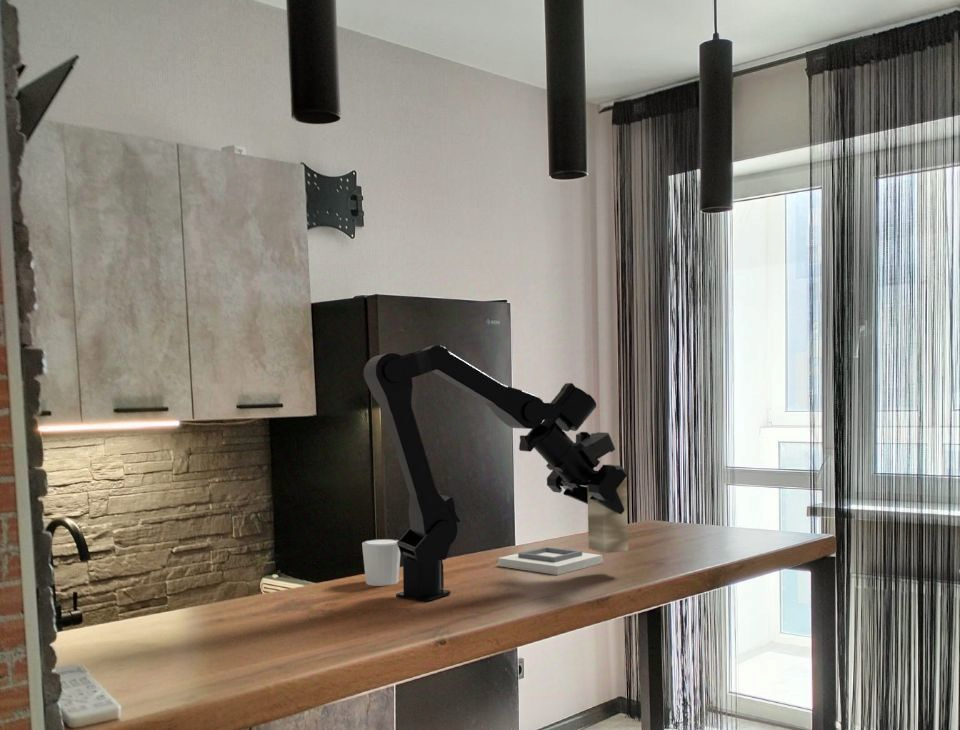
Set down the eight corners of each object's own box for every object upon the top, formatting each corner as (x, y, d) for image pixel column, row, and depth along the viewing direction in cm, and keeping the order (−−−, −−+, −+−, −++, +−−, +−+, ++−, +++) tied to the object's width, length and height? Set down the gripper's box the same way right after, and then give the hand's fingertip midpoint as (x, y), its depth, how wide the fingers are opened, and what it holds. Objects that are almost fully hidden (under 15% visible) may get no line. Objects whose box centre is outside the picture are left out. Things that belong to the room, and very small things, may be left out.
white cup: (405, 578, 149) (405, 538, 150) (397, 586, 143) (397, 544, 143) (367, 578, 150) (367, 538, 151) (358, 586, 143) (357, 544, 144)
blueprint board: (557, 574, 150) (557, 561, 150) (498, 566, 159) (498, 553, 159) (602, 563, 160) (602, 550, 160) (544, 555, 170) (543, 543, 170)
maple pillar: (604, 553, 146) (602, 477, 147) (588, 548, 151) (587, 475, 152) (628, 550, 149) (626, 476, 149) (612, 546, 153) (610, 474, 154)
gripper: (616, 417, 141) (671, 480, 145) (559, 416, 158) (611, 473, 162) (576, 466, 137) (634, 530, 141) (523, 460, 154) (576, 517, 158)
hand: (614, 510), depth 151 cm, fingers closed on maple pillar, 5 cm apart
